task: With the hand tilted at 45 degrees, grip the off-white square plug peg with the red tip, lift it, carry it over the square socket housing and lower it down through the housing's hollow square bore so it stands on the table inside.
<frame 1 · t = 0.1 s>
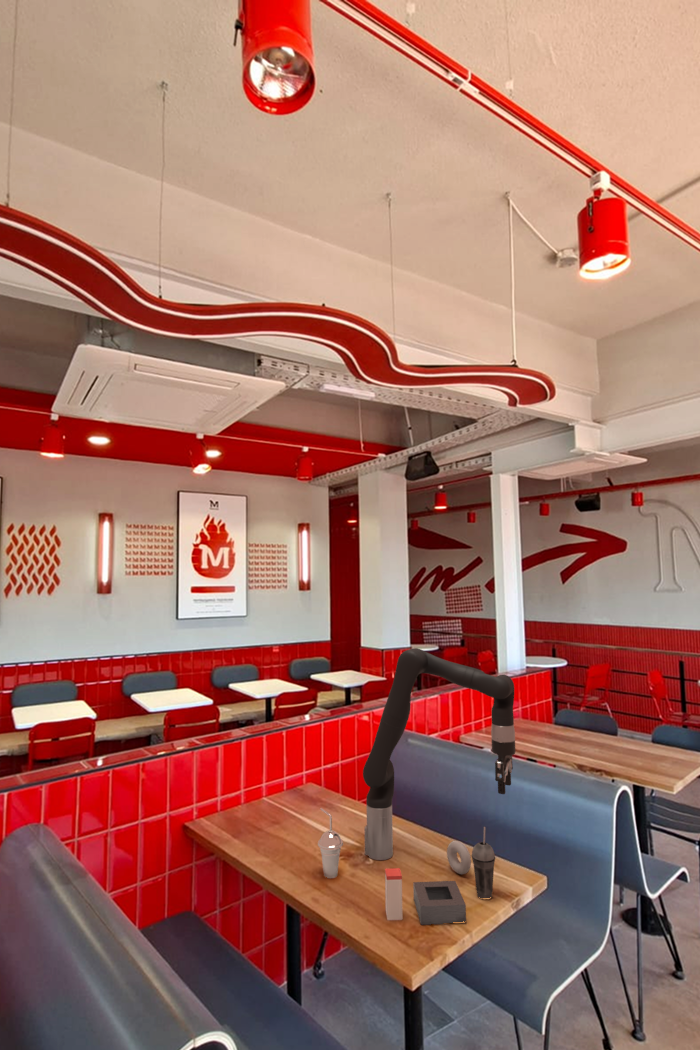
hand: (504, 789, 186), 29 cm above the table, tool pointing down, fingers open, 8 cm apart
beverage cup: (484, 896, 176), on the table
cup with straw: (330, 875, 190), on the table
plug peg: (394, 915, 166), on the table
square socket housing: (438, 910, 169), on the table
donut: (459, 873, 190), on the table
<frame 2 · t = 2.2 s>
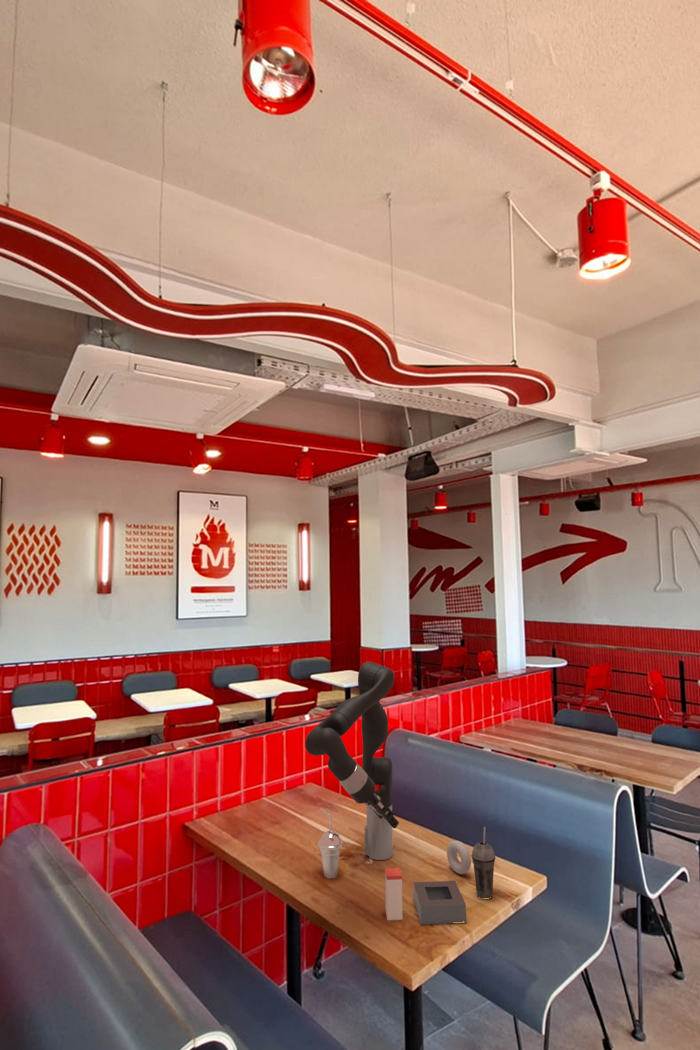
hand: (389, 820, 170), 26 cm above the table, tool tilted 40°, fingers open, 8 cm apart
nothing on the table moved.
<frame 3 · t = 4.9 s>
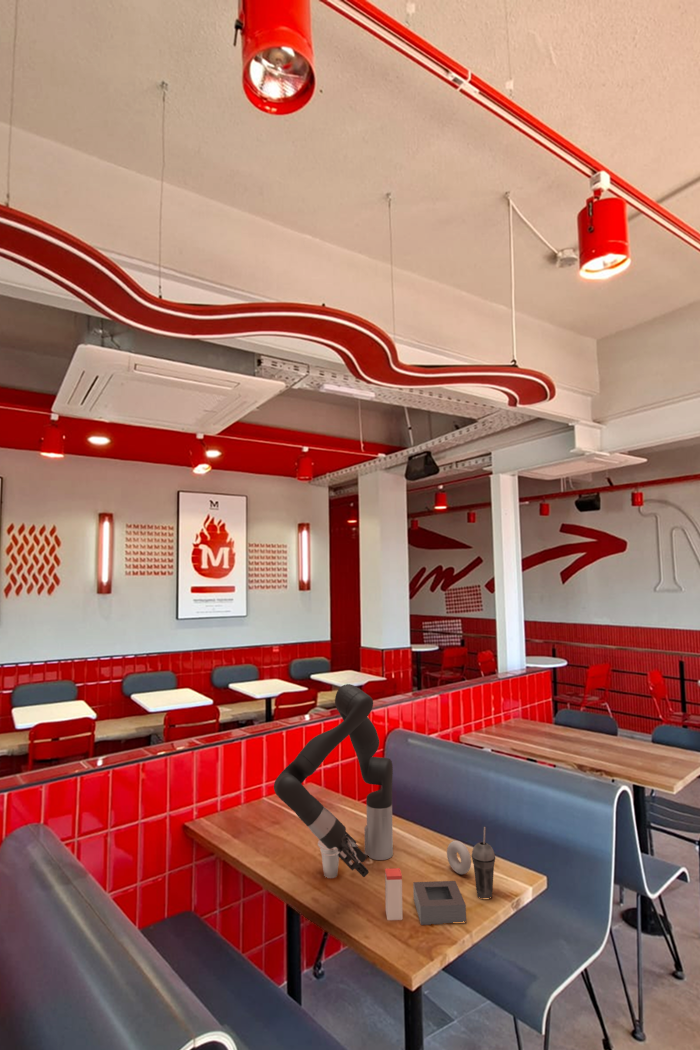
hand: (365, 866, 167), 14 cm above the table, tool tilted 45°, fingers open, 8 cm apart
nothing on the table moved.
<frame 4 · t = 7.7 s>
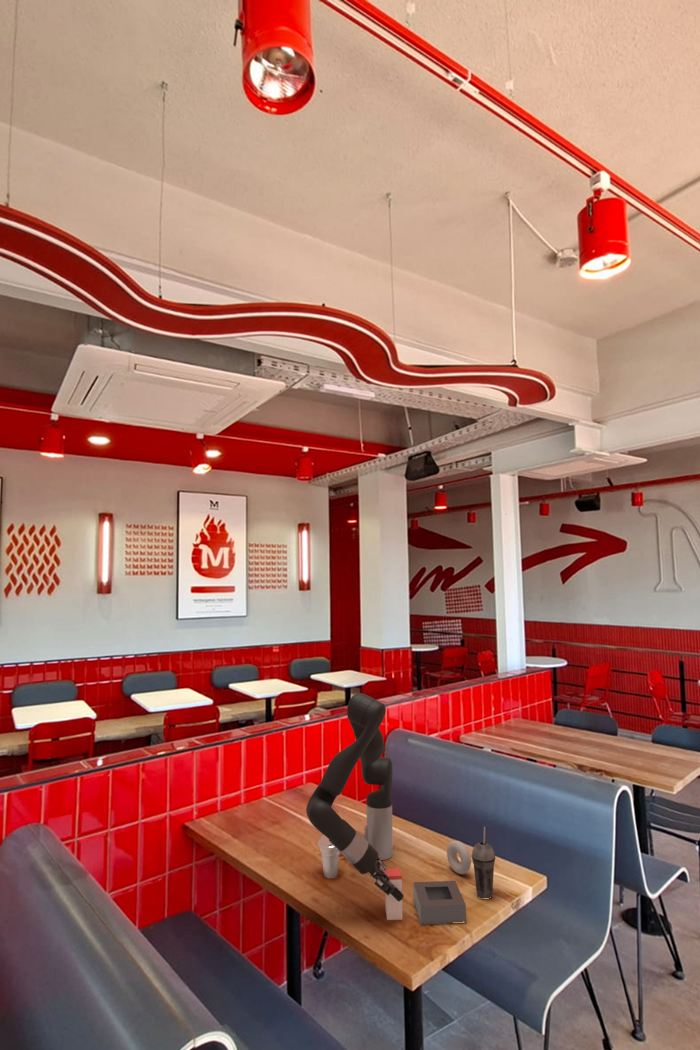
hand: (400, 893, 167), 6 cm above the table, tool tilted 45°, fingers closed on plug peg, 4 cm apart
plug peg: (393, 915, 166), on the table, touching gripper
everything else where it was.
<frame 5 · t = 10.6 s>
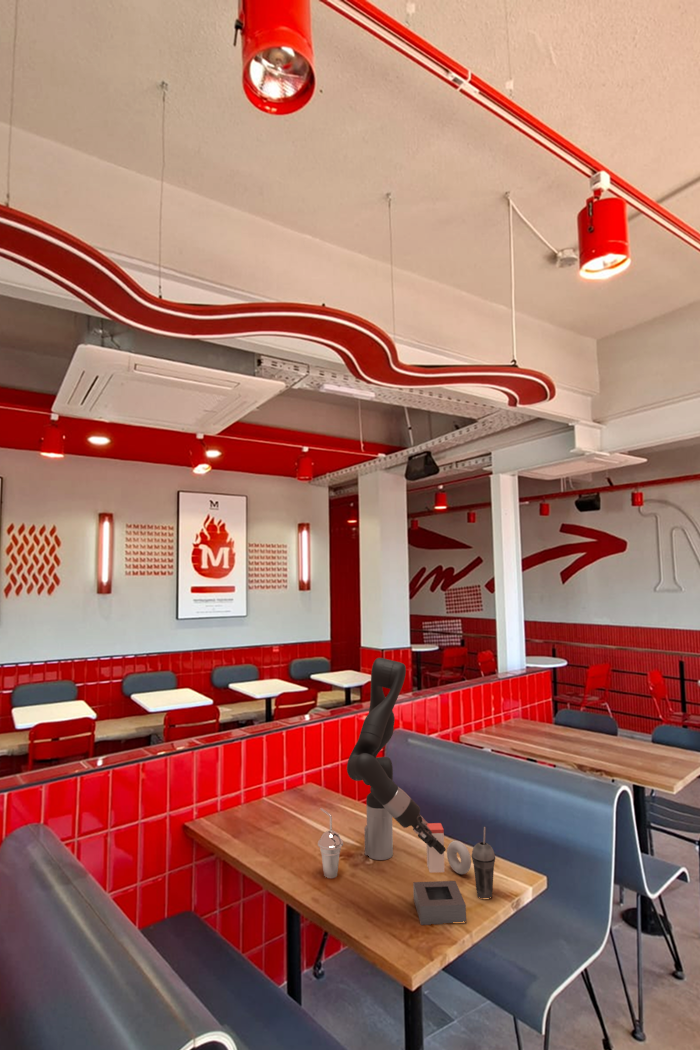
hand: (441, 847, 170), 18 cm above the table, tool tilted 45°, fingers closed on plug peg, 4 cm apart
plug peg: (435, 868, 170), point 12 cm above the table, touching gripper
everything else where it was.
when the fingers open (8 cm above the table, at t = 13.5 s): plug peg drops 2 cm, resting in square socket housing.
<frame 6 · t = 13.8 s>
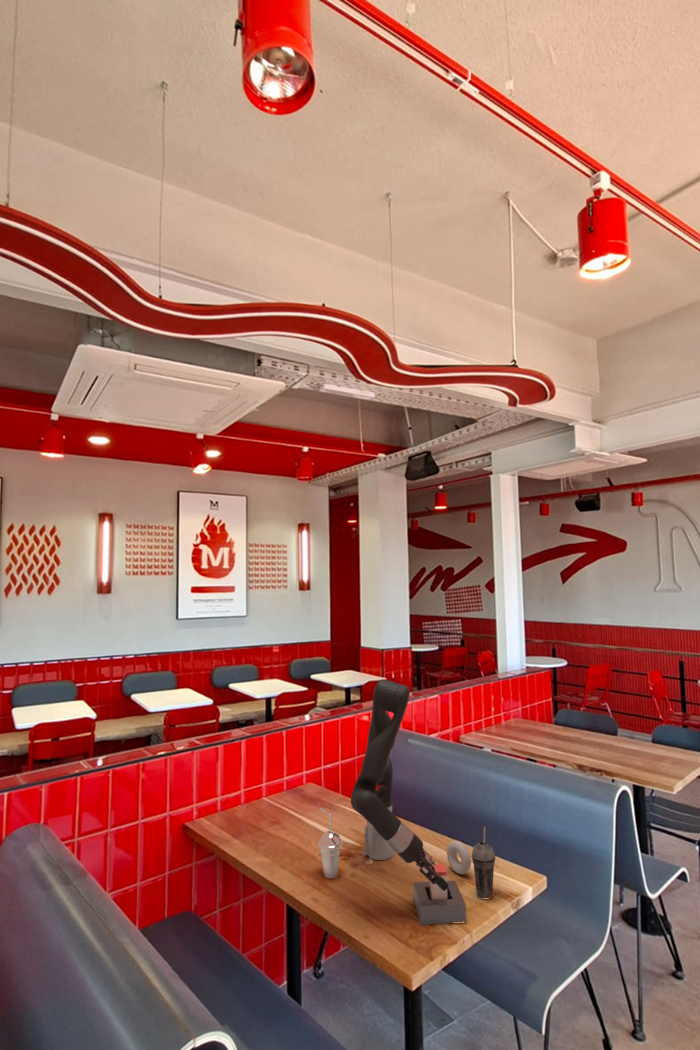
hand: (443, 881, 169), 8 cm above the table, tool tilted 45°, fingers open, 6 cm apart
plug peg: (438, 910, 169), resting in square socket housing
everything else where it was.
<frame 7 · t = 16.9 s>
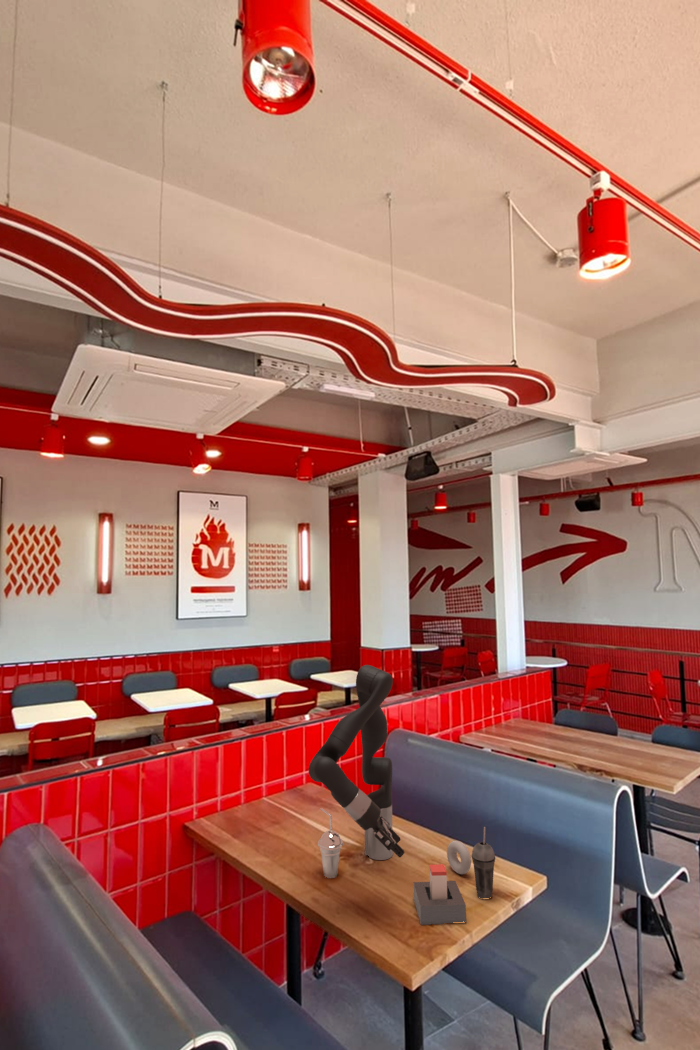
hand: (400, 847, 170), 18 cm above the table, tool tilted 45°, fingers open, 8 cm apart
nothing on the table moved.
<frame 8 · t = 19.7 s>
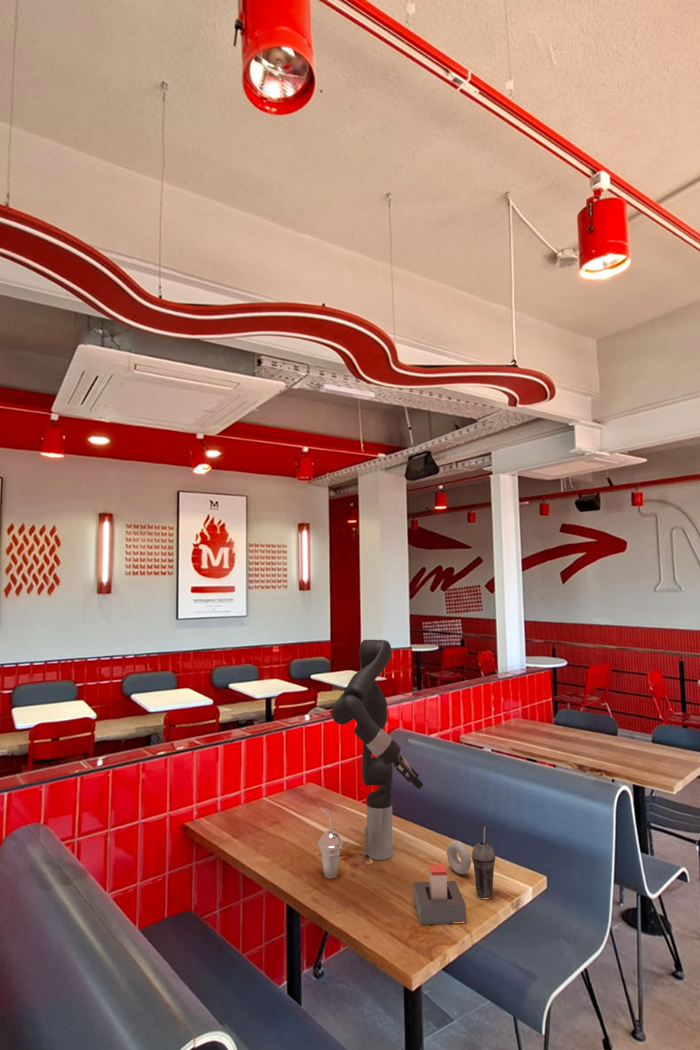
hand: (418, 782, 183), 33 cm above the table, tool tilted 45°, fingers open, 8 cm apart
nothing on the table moved.
at the end: plug peg 0.1 cm from the square socket housing (horizontally); plug peg resting in square socket housing; plug peg tilted 0° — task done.
